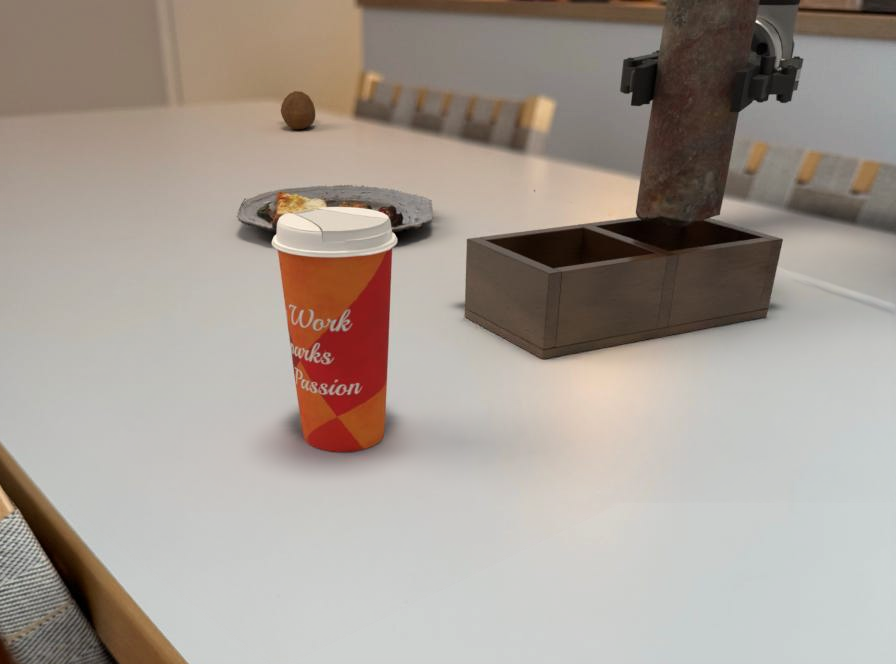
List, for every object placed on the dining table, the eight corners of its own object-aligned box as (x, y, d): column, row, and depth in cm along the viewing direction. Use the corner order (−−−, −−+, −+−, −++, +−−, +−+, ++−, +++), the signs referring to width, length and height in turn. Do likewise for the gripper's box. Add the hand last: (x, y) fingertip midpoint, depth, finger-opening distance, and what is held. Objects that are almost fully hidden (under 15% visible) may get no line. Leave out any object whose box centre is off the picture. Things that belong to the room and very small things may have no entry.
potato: (280, 132, 181) (277, 94, 177) (283, 125, 189) (280, 88, 185) (315, 132, 181) (313, 94, 178) (316, 124, 189) (314, 88, 186)
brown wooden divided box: (674, 282, 97) (685, 210, 93) (766, 317, 88) (783, 238, 84) (464, 316, 88) (466, 238, 84) (542, 359, 78) (549, 273, 74)
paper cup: (265, 433, 66) (244, 216, 58) (352, 405, 70) (344, 199, 62) (334, 470, 61) (322, 239, 53) (423, 437, 66) (424, 219, 57)
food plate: (435, 252, 107) (435, 218, 105) (227, 252, 107) (223, 218, 105) (430, 205, 127) (430, 176, 125) (255, 205, 127) (253, 176, 125)
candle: (733, 221, 86) (781, -52, 75) (703, 238, 81) (750, -52, 70) (653, 211, 90) (687, -51, 78) (620, 226, 85) (652, -51, 73)
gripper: (834, 114, 91) (808, 151, 74) (627, 102, 98) (560, 133, 81) (856, 21, 87) (833, 37, 70) (638, 15, 94) (569, 29, 77)
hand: (687, 89), depth 76 cm, fingers closed on candle, 7 cm apart
